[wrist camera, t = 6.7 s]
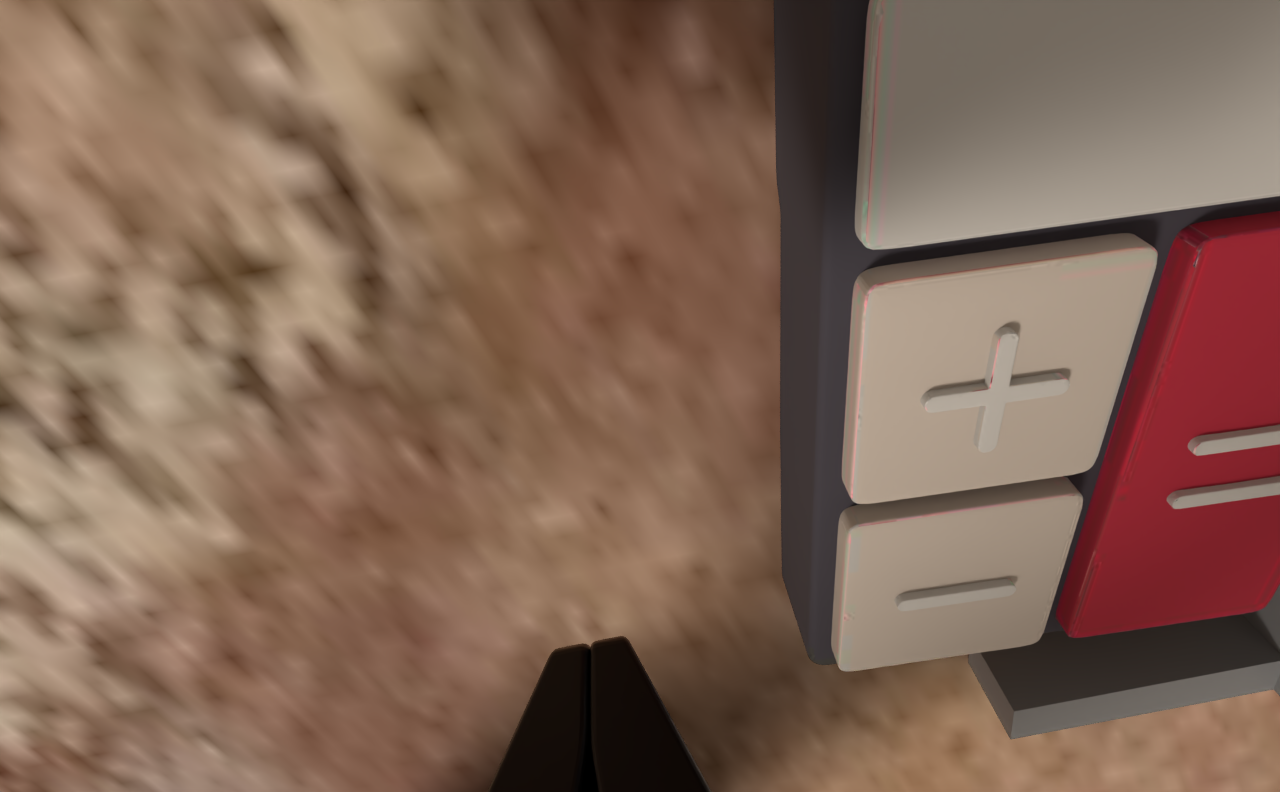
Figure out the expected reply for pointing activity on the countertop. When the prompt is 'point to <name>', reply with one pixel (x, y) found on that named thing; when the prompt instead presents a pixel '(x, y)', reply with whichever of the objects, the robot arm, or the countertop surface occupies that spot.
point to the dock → (1130, 671)
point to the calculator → (1026, 319)
